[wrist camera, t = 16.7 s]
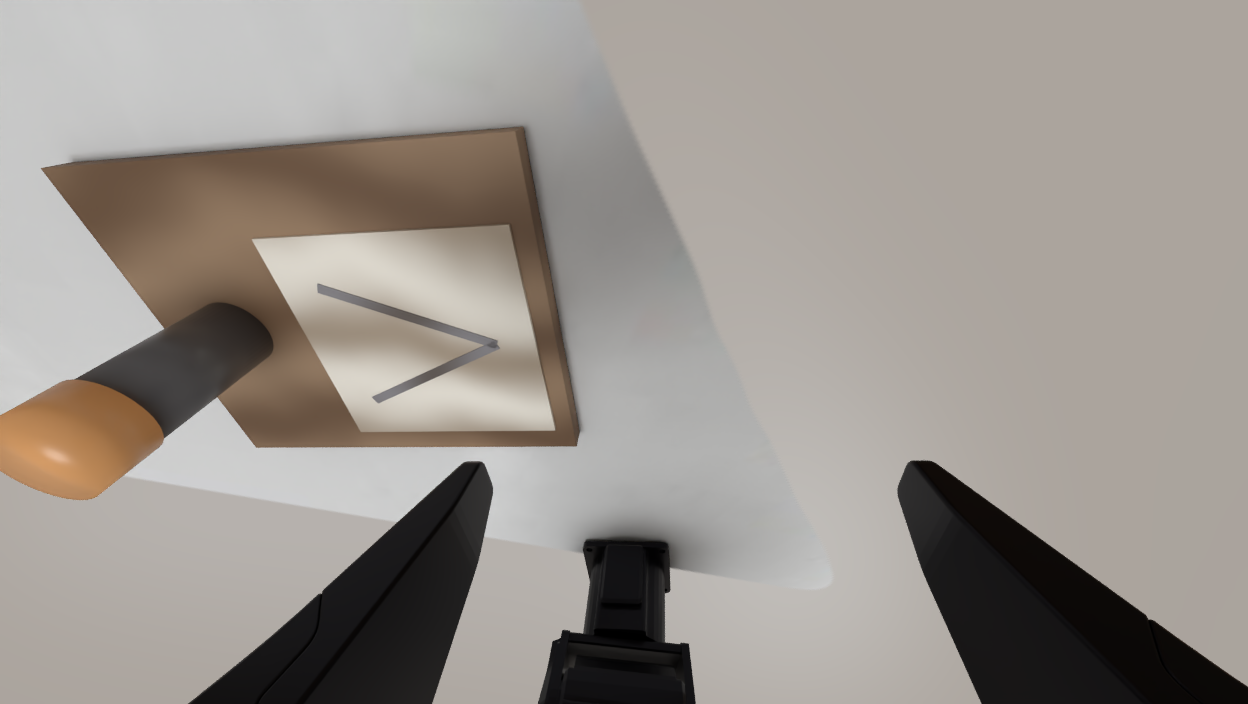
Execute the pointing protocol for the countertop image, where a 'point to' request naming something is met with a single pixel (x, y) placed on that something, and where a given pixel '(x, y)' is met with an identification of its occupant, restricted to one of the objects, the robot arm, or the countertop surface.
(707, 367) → the countertop surface
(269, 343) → the black and orange cylinder
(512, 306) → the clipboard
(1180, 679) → the robot arm
